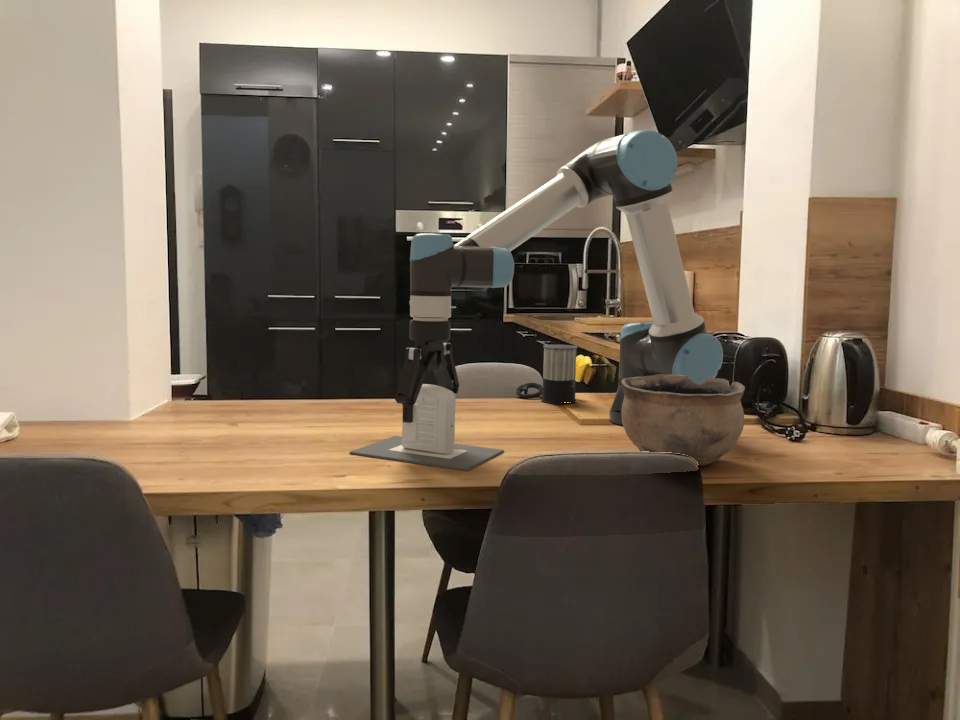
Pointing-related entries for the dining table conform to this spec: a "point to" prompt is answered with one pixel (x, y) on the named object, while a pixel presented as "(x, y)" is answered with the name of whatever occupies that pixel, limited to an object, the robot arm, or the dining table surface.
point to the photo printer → (434, 420)
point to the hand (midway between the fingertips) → (428, 433)
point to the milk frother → (555, 376)
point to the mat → (429, 454)
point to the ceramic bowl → (683, 415)
